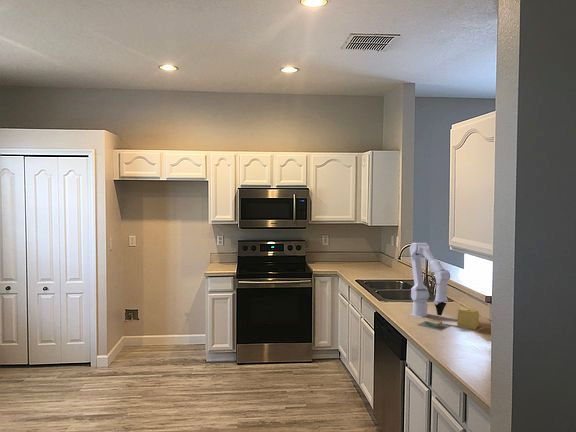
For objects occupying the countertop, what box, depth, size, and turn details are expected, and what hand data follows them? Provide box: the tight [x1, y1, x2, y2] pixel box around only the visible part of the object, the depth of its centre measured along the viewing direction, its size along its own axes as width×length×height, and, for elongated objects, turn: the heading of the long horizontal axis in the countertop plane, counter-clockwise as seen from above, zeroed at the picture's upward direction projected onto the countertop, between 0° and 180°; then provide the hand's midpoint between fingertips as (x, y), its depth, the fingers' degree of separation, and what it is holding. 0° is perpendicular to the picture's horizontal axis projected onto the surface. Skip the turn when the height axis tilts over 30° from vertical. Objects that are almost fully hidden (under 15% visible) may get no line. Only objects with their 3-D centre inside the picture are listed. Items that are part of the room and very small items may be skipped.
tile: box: [424, 318, 443, 328], centre depth 265 cm, size 2×7×7 cm
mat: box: [417, 321, 453, 332], centre depth 267 cm, size 16×14×1 cm
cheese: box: [456, 305, 480, 330], centre depth 269 cm, size 10×11×10 cm
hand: (439, 315), depth 271 cm, fingers closed
